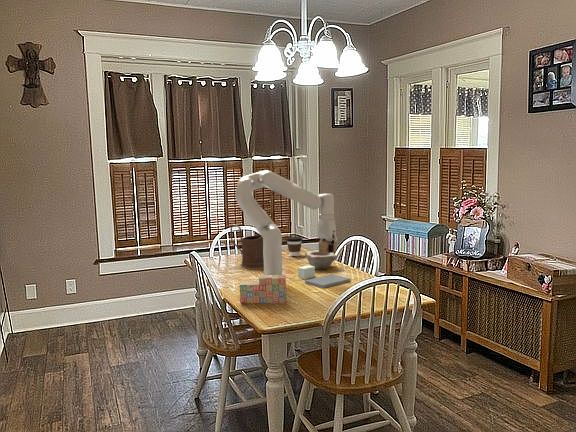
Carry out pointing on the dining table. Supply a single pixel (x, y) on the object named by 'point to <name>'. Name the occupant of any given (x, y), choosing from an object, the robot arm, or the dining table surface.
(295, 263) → the dining table surface
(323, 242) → the walnut brick
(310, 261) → the mortar
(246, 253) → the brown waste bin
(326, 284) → the baseplate
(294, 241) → the coffee cup
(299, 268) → the mint brick
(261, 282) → the stack of blocks
